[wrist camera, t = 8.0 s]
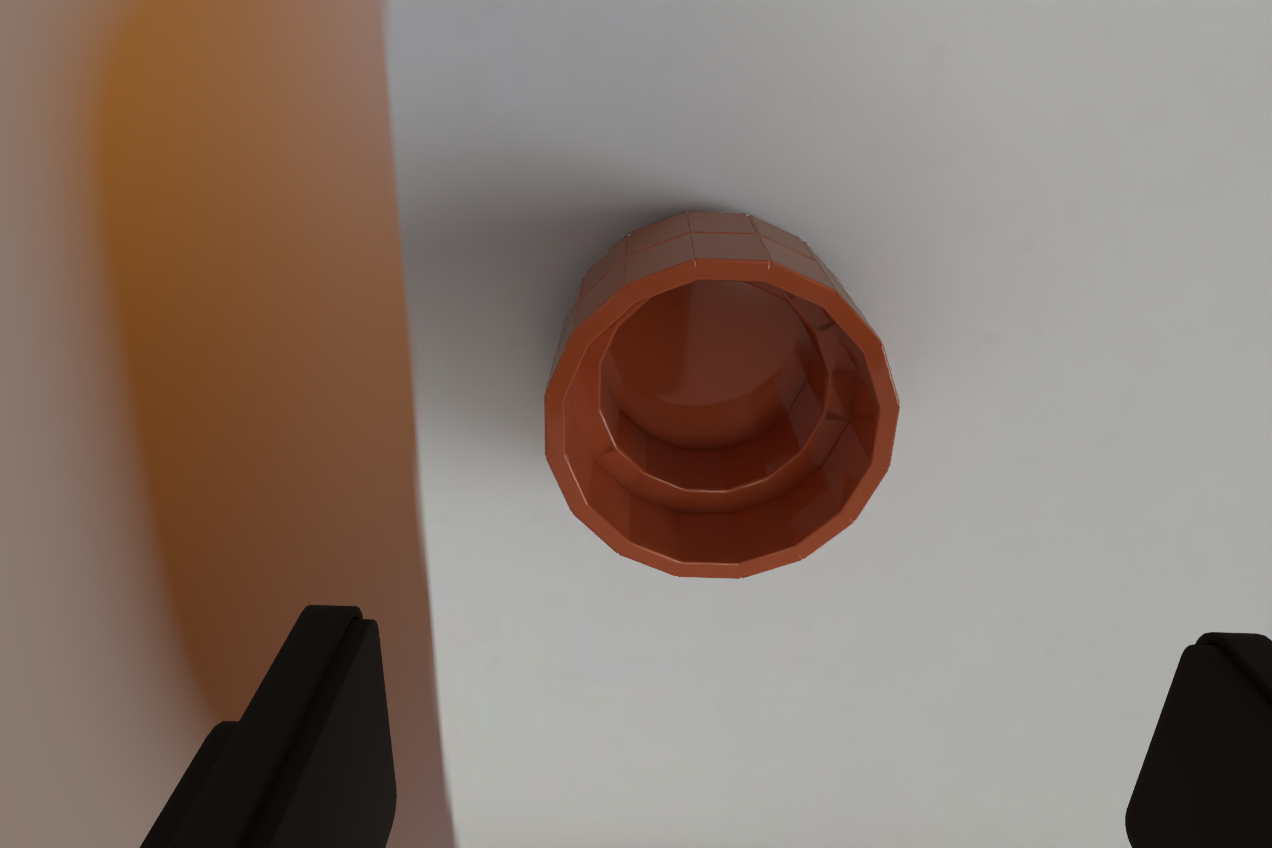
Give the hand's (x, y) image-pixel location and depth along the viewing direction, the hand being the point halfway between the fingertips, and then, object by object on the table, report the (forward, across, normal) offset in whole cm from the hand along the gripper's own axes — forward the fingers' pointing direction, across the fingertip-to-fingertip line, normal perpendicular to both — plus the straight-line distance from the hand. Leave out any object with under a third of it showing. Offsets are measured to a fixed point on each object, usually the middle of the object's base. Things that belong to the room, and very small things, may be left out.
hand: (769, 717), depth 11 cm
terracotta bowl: (+12, 0, 0) cm, 12 cm away
